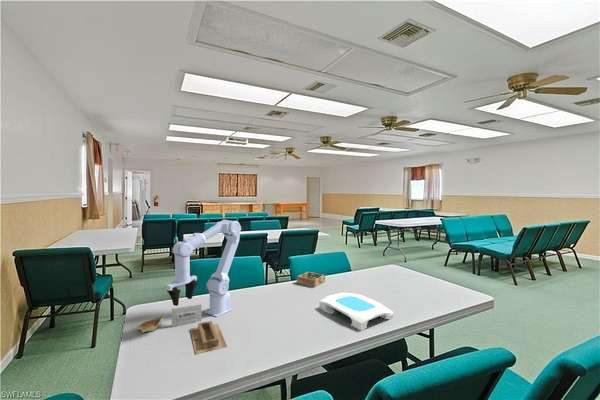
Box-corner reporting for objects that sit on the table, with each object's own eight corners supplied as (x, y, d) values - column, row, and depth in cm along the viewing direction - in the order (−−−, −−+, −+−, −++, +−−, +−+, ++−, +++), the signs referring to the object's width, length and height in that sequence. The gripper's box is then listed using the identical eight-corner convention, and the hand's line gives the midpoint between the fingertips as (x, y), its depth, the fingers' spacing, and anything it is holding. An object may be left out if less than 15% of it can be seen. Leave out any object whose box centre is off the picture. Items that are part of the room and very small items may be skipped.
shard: (163, 318, 124) (162, 314, 124) (171, 324, 120) (171, 320, 119) (136, 328, 116) (136, 324, 116) (144, 334, 111) (144, 330, 111)
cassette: (171, 327, 118) (171, 309, 117) (171, 326, 119) (171, 308, 119) (201, 321, 123) (201, 304, 123) (200, 320, 125) (201, 303, 125)
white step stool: (349, 301, 148) (349, 290, 148) (393, 322, 125) (394, 308, 125) (318, 310, 137) (318, 297, 137) (360, 335, 114) (360, 320, 113)
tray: (217, 324, 120) (217, 317, 120) (227, 348, 102) (227, 340, 102) (190, 330, 116) (190, 322, 115) (195, 355, 98) (195, 347, 98)
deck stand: (307, 279, 185) (307, 271, 185) (325, 282, 178) (325, 275, 178) (296, 284, 175) (296, 276, 175) (314, 288, 167) (314, 280, 167)
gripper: (188, 265, 127) (188, 294, 127) (161, 273, 114) (161, 306, 114) (200, 266, 124) (200, 296, 125) (174, 275, 111) (174, 309, 111)
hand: (182, 301), depth 119 cm, fingers open, 7 cm apart
